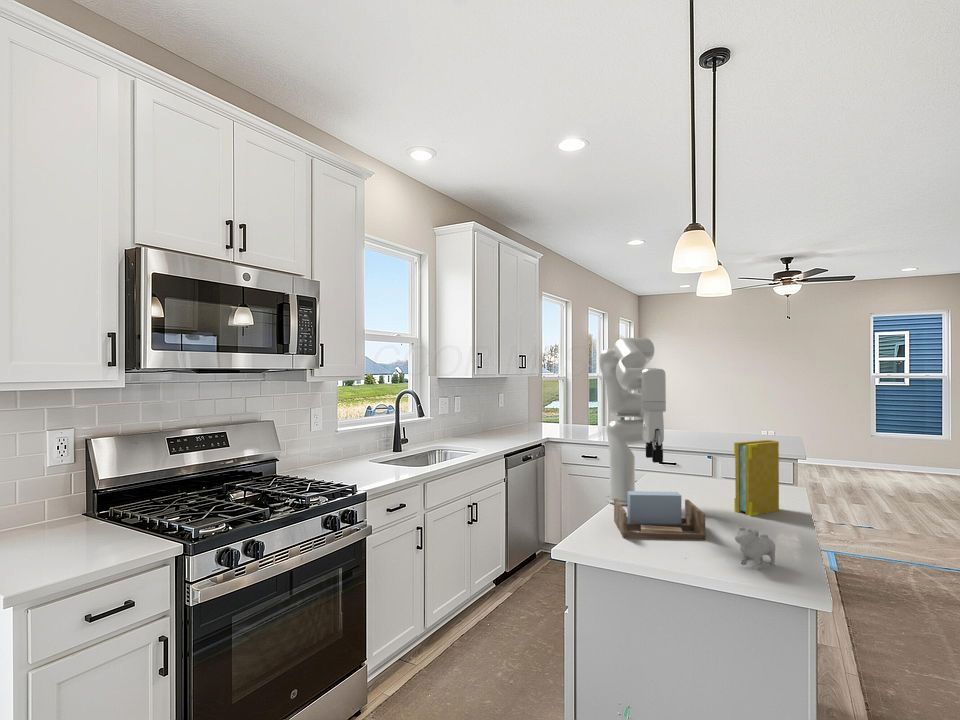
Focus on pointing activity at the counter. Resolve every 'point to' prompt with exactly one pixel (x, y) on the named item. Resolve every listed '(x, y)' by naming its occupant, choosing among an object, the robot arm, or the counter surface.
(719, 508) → the counter surface
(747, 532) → the grey animal figure
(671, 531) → the offcut top
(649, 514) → the blue-grey rectangular block
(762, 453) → the book
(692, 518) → the rack
